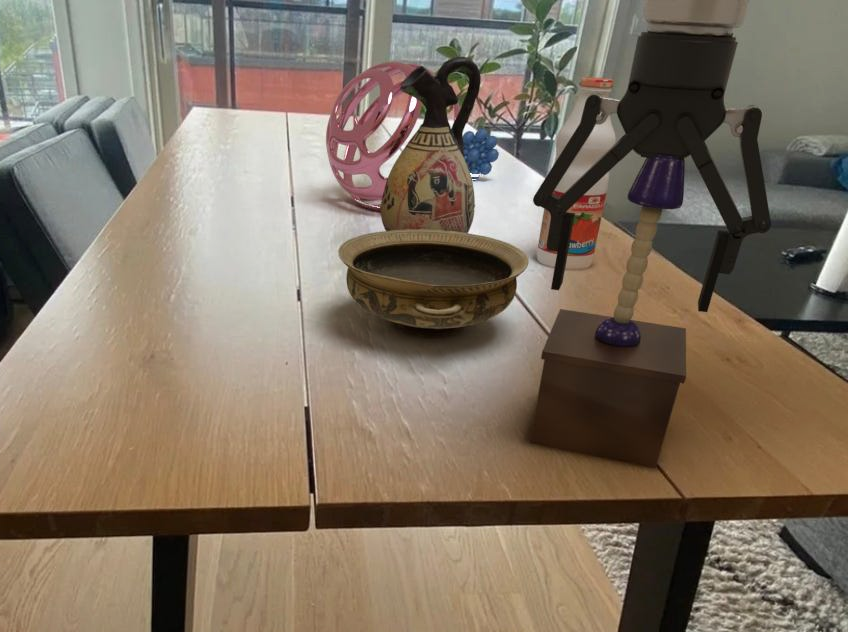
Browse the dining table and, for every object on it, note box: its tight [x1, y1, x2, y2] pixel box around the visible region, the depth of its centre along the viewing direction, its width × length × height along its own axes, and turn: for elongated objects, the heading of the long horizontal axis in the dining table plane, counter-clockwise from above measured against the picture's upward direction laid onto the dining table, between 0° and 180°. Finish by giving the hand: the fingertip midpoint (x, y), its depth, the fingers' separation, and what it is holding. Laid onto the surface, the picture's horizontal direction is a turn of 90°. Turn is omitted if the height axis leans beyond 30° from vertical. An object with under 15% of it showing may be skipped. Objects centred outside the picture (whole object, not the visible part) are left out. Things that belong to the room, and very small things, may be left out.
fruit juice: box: [536, 76, 617, 271], centre depth 123 cm, size 9×9×28 cm
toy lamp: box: [595, 155, 686, 346], centre depth 69 cm, size 5×5×17 cm
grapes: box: [462, 128, 500, 180], centre depth 185 cm, size 12×7×12 cm, turn 71°
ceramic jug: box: [379, 56, 482, 233], centre depth 123 cm, size 17×15×30 cm
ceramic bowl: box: [337, 229, 530, 338], centre depth 99 cm, size 30×24×10 cm
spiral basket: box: [325, 60, 461, 212], centre depth 154 cm, size 28×28×27 cm
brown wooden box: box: [529, 308, 687, 469], centre depth 76 cm, size 13×13×10 cm
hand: (627, 296), depth 71 cm, fingers open, 12 cm apart
